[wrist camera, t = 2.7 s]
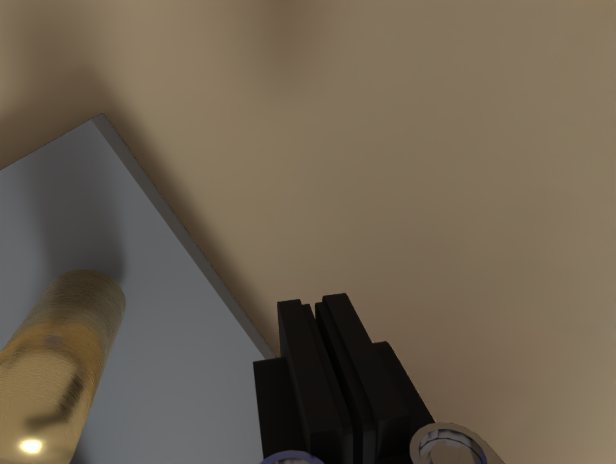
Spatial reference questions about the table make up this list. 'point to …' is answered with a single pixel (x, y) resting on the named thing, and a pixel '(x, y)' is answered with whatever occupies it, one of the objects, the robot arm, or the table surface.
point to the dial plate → (133, 304)
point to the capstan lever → (57, 367)
